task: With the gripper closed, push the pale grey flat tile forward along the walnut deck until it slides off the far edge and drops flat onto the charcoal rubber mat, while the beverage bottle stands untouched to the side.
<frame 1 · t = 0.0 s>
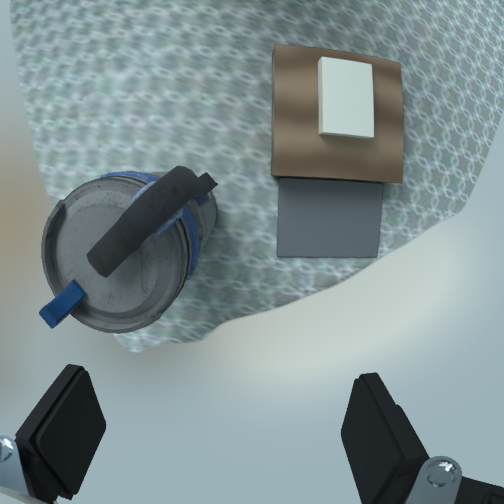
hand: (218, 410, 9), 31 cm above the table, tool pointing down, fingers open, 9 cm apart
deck: (334, 116, 36), on the table
mat: (331, 218, 39), on the table
beverage bottle: (183, 206, 39), on the table
pale grey flat tile: (343, 99, 32), point 4 cm above the table, touching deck
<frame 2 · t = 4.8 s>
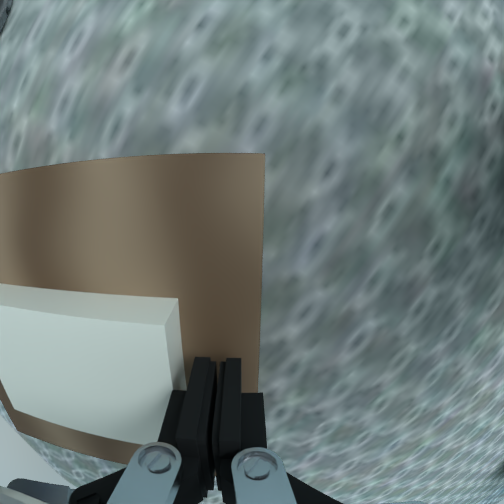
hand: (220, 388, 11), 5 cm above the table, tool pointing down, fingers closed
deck: (107, 316, 15), on the table
pale grey flat tile: (85, 354, 11), point 4 cm above the table, touching gripper
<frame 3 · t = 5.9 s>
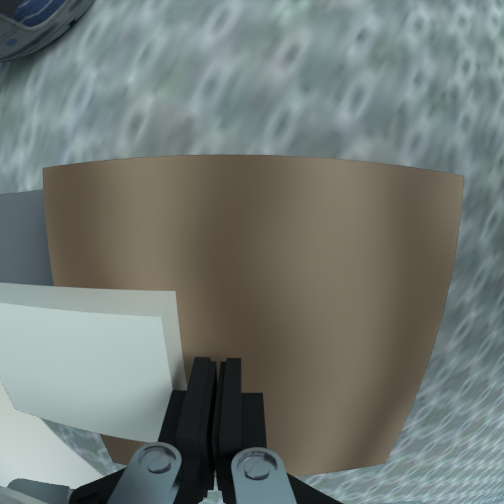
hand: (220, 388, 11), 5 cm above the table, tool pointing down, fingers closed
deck: (251, 324, 15), on the table
mat: (32, 308, 15), on the table
beverage bottle: (55, 1, 10), on the table
pale grey flat tile: (84, 351, 11), point 4 cm above the table, touching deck, gripper
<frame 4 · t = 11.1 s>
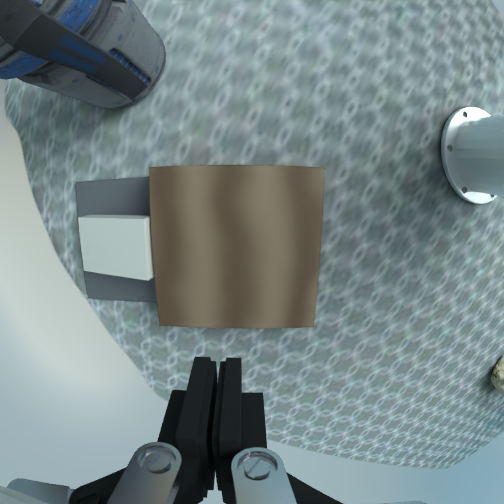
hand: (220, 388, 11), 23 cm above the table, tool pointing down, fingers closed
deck: (236, 242, 33), on the table
mat: (118, 241, 33), on the table
beverage bottle: (130, 73, 28), on the table
pale grey flat tile: (121, 242, 31), point 1 cm above the table, tilted 15°, touching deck, mat
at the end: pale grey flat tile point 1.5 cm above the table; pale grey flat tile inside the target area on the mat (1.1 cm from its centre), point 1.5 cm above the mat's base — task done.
